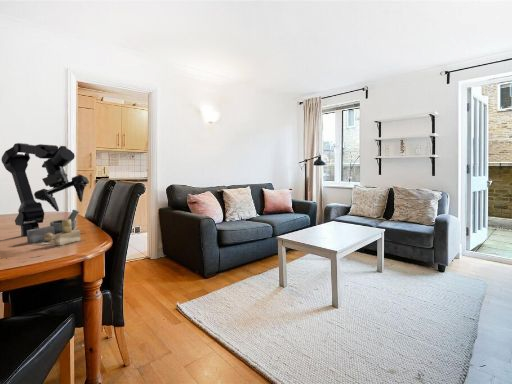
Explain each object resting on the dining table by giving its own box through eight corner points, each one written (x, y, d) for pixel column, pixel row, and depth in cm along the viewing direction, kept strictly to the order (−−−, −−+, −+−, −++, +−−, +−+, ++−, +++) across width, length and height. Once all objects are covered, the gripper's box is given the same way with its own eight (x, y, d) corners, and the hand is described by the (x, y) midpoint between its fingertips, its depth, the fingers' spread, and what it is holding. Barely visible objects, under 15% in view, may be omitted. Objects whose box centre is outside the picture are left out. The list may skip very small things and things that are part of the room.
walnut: (41, 241, 114) (40, 233, 113) (49, 239, 117) (48, 231, 117) (47, 242, 113) (47, 233, 113) (56, 240, 116) (55, 232, 116)
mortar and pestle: (50, 239, 123) (49, 212, 122) (50, 235, 131) (49, 209, 130) (80, 236, 130) (79, 210, 129) (79, 232, 138) (78, 208, 137)
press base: (22, 247, 111) (21, 231, 110) (51, 240, 122) (51, 225, 122) (61, 251, 106) (60, 234, 105) (87, 243, 118) (86, 228, 117)
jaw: (54, 244, 109) (52, 221, 108) (74, 239, 117) (73, 217, 116) (60, 245, 108) (59, 222, 107) (80, 239, 116) (79, 218, 116)
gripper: (18, 176, 106) (32, 213, 104) (69, 157, 110) (83, 193, 108) (37, 183, 117) (50, 217, 115) (82, 165, 121) (96, 198, 119)
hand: (69, 206), depth 114 cm, fingers open, 9 cm apart
